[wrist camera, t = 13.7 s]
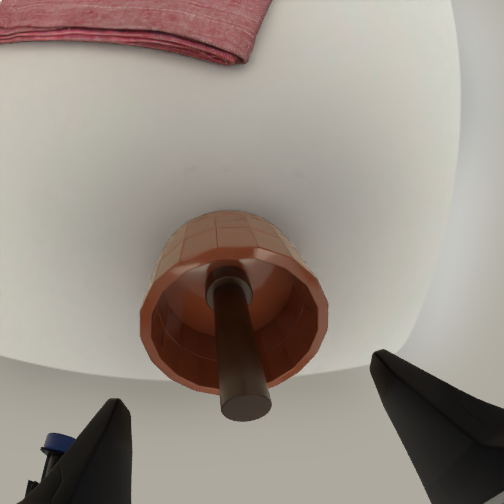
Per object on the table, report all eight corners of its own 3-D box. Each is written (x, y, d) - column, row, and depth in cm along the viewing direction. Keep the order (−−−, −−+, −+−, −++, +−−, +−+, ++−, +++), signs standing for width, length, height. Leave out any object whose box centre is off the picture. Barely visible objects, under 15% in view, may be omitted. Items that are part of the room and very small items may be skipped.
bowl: (178, 343, 17) (173, 404, 13) (140, 225, 14) (111, 267, 9) (299, 321, 18) (325, 376, 13) (290, 197, 15) (327, 227, 10)
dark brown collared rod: (210, 307, 15) (217, 431, 8) (200, 269, 15) (199, 393, 7) (252, 299, 16) (286, 420, 8) (246, 261, 15) (282, 378, 7)
